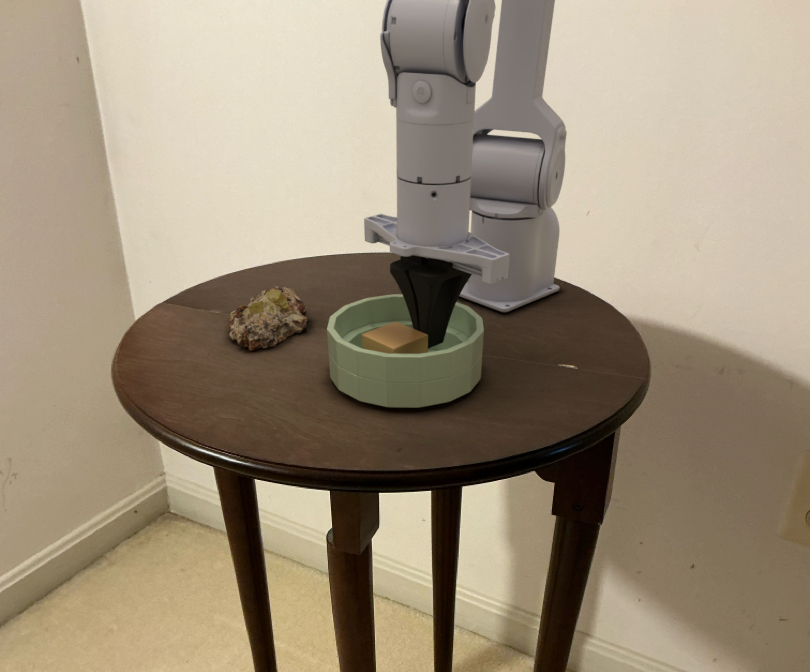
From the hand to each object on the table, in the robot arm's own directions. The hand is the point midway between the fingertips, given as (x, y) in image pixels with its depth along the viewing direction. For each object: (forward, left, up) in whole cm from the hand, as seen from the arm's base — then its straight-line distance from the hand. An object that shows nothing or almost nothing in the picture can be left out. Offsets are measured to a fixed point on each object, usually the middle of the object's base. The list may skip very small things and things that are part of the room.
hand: (430, 343), depth 67 cm
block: (+3, -1, -2) cm, 4 cm away
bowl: (+2, -1, -3) cm, 4 cm away
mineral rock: (+5, -18, -3) cm, 19 cm away
